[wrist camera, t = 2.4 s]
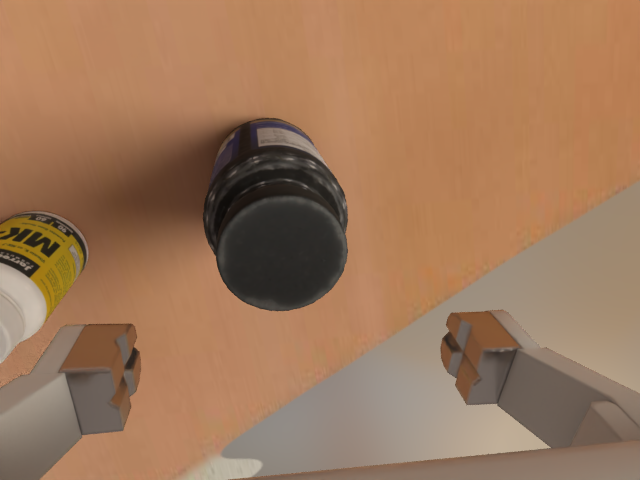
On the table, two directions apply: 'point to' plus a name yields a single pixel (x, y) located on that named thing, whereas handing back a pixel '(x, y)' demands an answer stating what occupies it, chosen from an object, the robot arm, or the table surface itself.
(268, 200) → the pill bottle
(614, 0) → the table surface
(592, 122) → the table surface
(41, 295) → the supplement bottle
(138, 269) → the table surface
